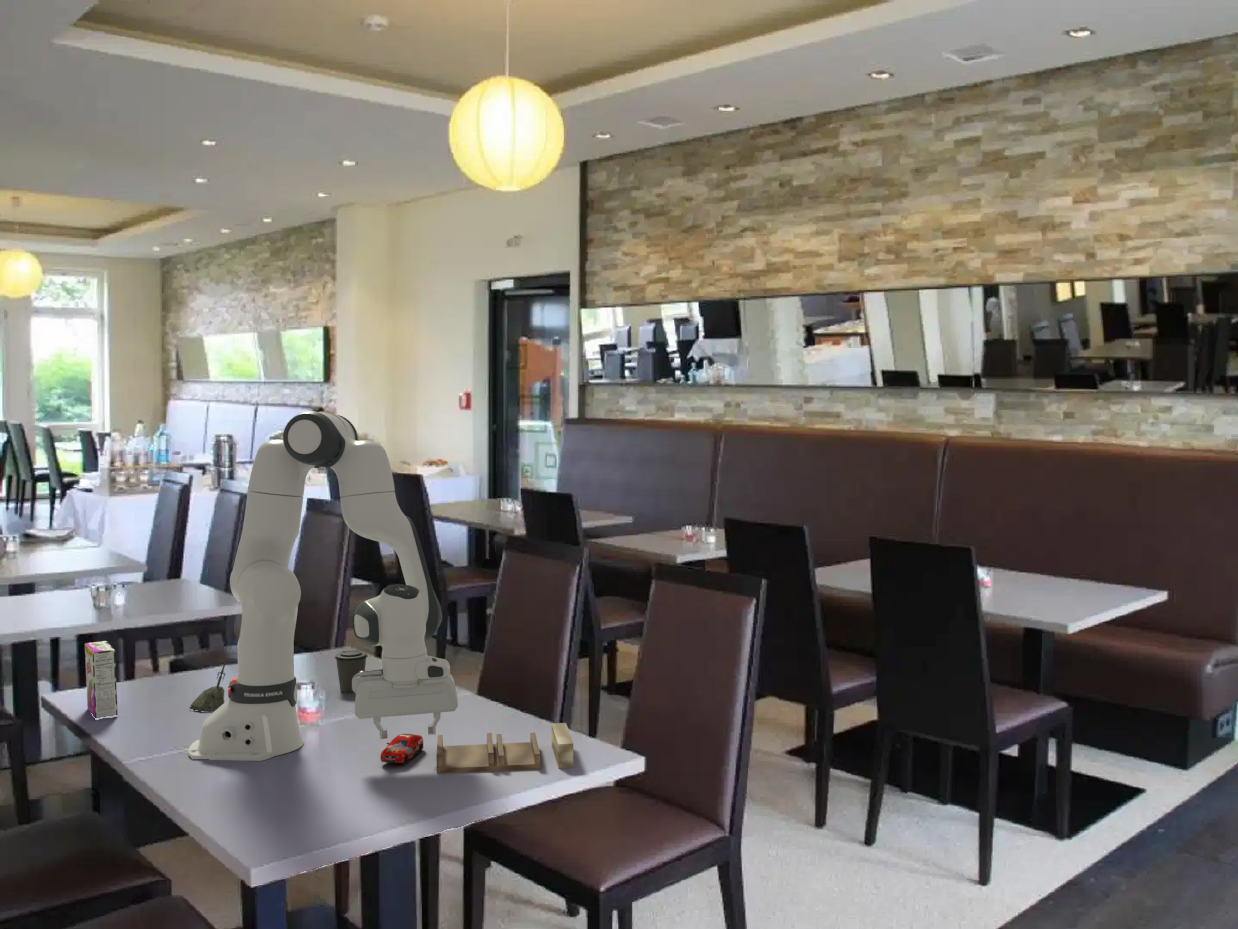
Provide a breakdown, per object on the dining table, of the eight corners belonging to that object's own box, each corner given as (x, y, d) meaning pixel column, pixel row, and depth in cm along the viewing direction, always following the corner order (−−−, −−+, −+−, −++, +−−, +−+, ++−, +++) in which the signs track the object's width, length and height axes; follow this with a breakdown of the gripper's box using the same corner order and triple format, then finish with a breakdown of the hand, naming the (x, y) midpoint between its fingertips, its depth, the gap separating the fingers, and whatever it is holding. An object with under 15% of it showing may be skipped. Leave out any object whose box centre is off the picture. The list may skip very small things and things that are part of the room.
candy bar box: (85, 713, 257) (83, 643, 256) (109, 709, 260) (107, 640, 259) (94, 724, 248) (92, 652, 247) (118, 721, 251) (116, 649, 250)
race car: (401, 767, 217) (402, 747, 217) (376, 765, 218) (376, 745, 218) (428, 749, 230) (428, 729, 229) (403, 747, 231) (403, 727, 231)
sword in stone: (191, 719, 253) (189, 666, 252) (184, 710, 260) (183, 659, 259) (236, 712, 258) (235, 661, 258) (229, 704, 265) (228, 654, 264)
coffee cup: (334, 689, 278) (333, 649, 277) (367, 686, 280) (366, 647, 280) (335, 697, 270) (335, 656, 270) (370, 694, 273) (369, 654, 272)
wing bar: (558, 769, 218) (558, 744, 218) (551, 747, 232) (551, 723, 232) (573, 768, 219) (573, 743, 219) (566, 746, 233) (565, 723, 232)
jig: (436, 774, 215) (436, 756, 215) (438, 751, 229) (437, 734, 229) (540, 769, 218) (539, 751, 218) (535, 746, 232) (535, 730, 231)
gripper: (350, 675, 216) (353, 745, 217) (456, 667, 220) (459, 736, 221) (352, 667, 222) (355, 735, 223) (455, 660, 226) (458, 727, 227)
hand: (408, 736), depth 222 cm, fingers open, 8 cm apart
